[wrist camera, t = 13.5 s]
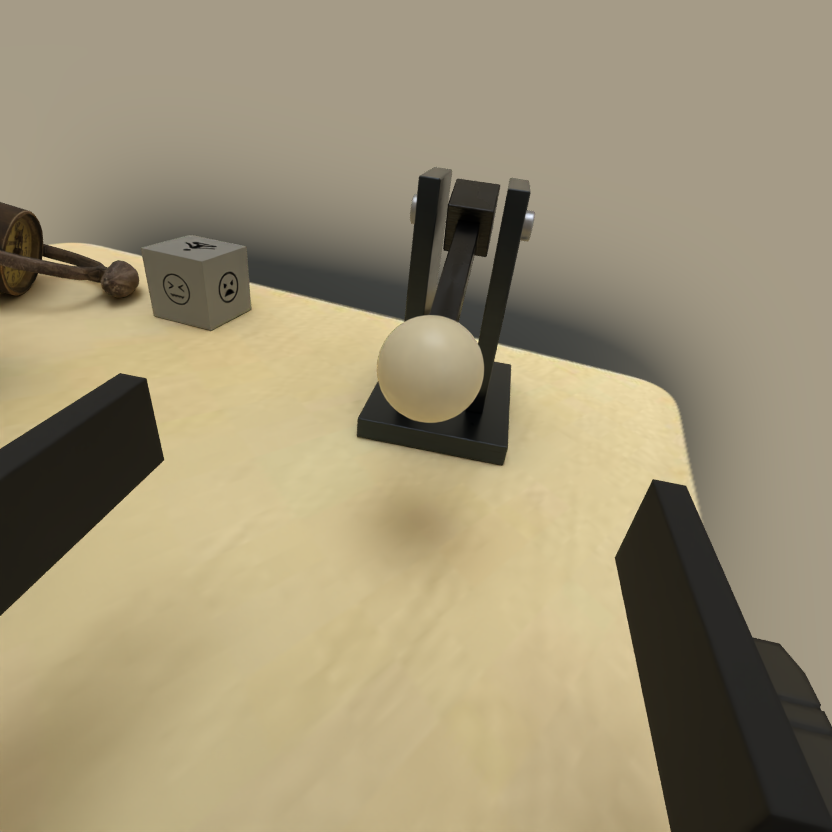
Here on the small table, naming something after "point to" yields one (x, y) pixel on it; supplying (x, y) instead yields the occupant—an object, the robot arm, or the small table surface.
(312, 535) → the small table surface
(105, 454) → the robot arm
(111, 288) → the brown antique clock
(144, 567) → the small table surface
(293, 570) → the small table surface
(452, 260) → the lever
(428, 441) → the bracket
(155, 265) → the dice cube
